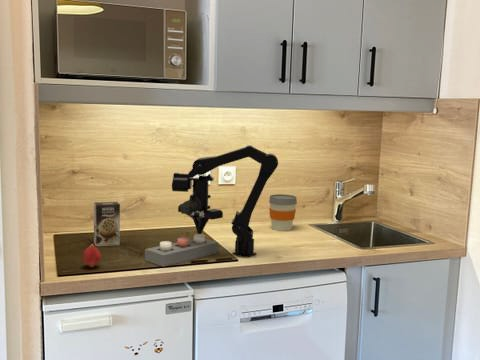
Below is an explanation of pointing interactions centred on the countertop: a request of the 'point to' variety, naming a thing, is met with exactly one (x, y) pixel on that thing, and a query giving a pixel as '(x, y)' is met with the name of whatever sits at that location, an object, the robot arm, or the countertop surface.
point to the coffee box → (106, 223)
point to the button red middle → (182, 242)
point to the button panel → (180, 252)
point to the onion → (91, 256)
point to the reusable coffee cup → (282, 211)
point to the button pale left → (165, 246)
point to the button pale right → (199, 238)
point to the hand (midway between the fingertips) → (199, 233)
